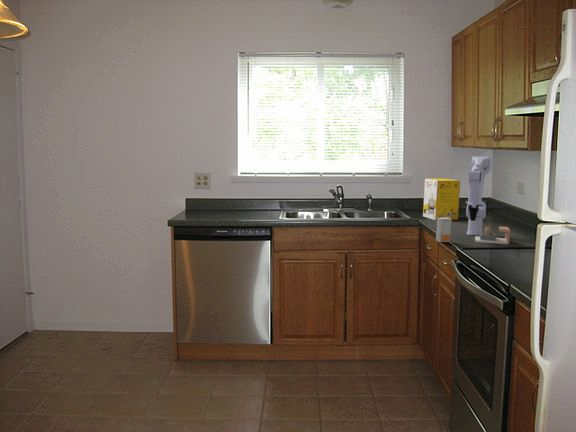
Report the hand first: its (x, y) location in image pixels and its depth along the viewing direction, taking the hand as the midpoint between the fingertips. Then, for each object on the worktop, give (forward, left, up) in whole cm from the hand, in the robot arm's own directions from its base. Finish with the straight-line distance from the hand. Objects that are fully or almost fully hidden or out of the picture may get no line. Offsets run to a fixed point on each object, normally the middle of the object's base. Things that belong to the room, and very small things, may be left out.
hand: (472, 219), depth 317 cm
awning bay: (+5, +10, -10) cm, 15 cm away
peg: (+5, +8, -9) cm, 13 cm away
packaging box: (-74, -18, -10) cm, 77 cm away
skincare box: (+16, -14, -10) cm, 24 cm away
